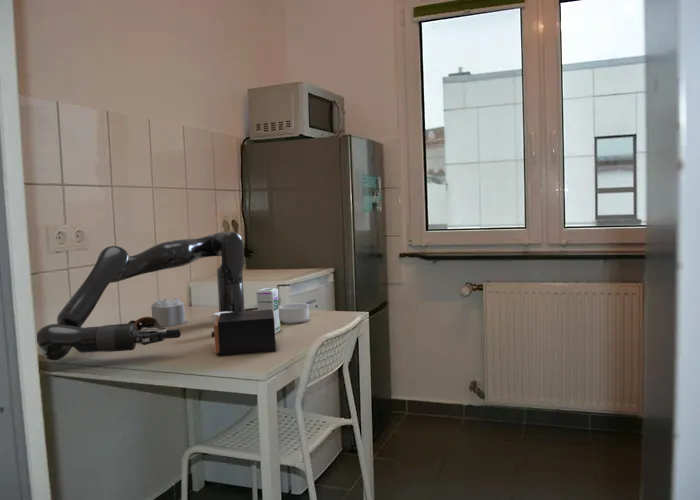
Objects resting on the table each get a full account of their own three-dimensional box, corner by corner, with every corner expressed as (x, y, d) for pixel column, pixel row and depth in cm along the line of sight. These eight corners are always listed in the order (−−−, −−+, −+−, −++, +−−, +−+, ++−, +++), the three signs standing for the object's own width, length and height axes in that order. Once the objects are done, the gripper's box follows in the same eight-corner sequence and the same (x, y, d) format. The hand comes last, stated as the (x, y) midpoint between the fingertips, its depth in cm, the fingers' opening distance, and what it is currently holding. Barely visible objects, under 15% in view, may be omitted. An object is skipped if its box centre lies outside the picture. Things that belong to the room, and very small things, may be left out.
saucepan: (328, 314, 212) (327, 300, 211) (298, 325, 195) (297, 309, 194) (303, 312, 218) (302, 298, 217) (271, 323, 200) (271, 307, 200)
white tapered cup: (238, 331, 188) (237, 311, 188) (226, 336, 182) (225, 315, 182) (222, 330, 191) (221, 310, 191) (209, 335, 185) (208, 314, 184)
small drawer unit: (219, 356, 158) (217, 322, 158) (222, 344, 172) (220, 313, 171) (275, 351, 161) (274, 318, 160) (273, 340, 175) (272, 309, 174)
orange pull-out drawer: (211, 353, 158) (209, 325, 158) (214, 342, 171) (212, 317, 170) (267, 348, 161) (265, 321, 160) (266, 338, 174) (264, 313, 173)
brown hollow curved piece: (167, 336, 188) (165, 318, 183) (152, 355, 180) (149, 336, 176) (136, 327, 190) (133, 308, 185) (119, 345, 182) (115, 326, 178)
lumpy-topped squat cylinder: (162, 327, 200) (160, 303, 200) (146, 323, 210) (145, 300, 209) (188, 322, 207) (187, 299, 207) (172, 318, 217) (171, 296, 216)
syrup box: (275, 334, 183) (273, 290, 182) (258, 334, 184) (256, 290, 183) (280, 330, 188) (278, 287, 187) (264, 330, 190) (262, 287, 189)
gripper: (109, 329, 149) (176, 325, 152) (120, 320, 162) (182, 315, 165) (111, 357, 150) (178, 351, 153) (122, 345, 163) (183, 340, 166)
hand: (180, 333), depth 159 cm, fingers closed
